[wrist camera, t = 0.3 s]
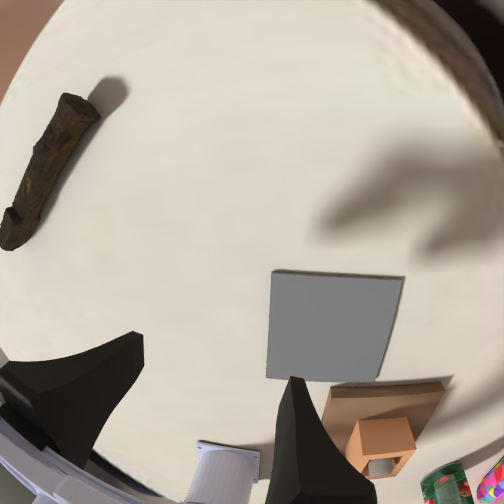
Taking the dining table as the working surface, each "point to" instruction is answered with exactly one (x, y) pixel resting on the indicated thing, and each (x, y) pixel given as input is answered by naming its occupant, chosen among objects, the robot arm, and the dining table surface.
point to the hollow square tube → (380, 444)
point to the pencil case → (492, 485)
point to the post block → (379, 412)
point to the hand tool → (45, 168)
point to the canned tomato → (447, 486)
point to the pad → (329, 326)
